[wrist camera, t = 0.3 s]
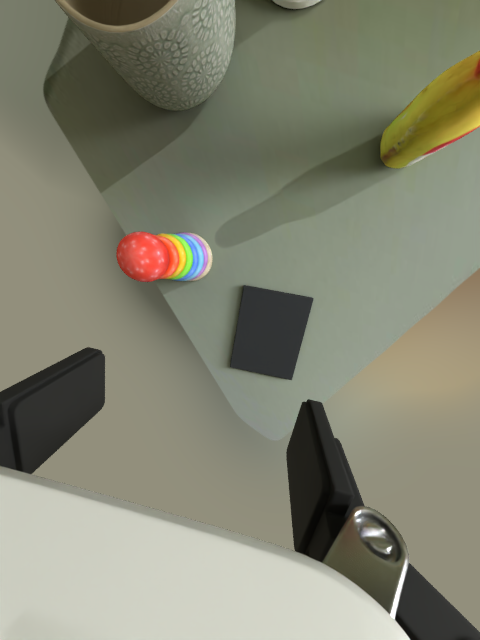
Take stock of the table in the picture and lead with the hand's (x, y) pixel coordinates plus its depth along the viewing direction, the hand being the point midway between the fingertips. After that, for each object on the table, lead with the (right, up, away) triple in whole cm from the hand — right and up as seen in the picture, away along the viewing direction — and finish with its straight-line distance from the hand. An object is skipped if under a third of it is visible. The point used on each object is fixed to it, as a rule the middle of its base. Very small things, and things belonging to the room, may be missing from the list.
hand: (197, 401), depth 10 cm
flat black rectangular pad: (+7, +1, +31) cm, 32 cm away
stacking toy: (-7, +15, +29) cm, 33 cm away
